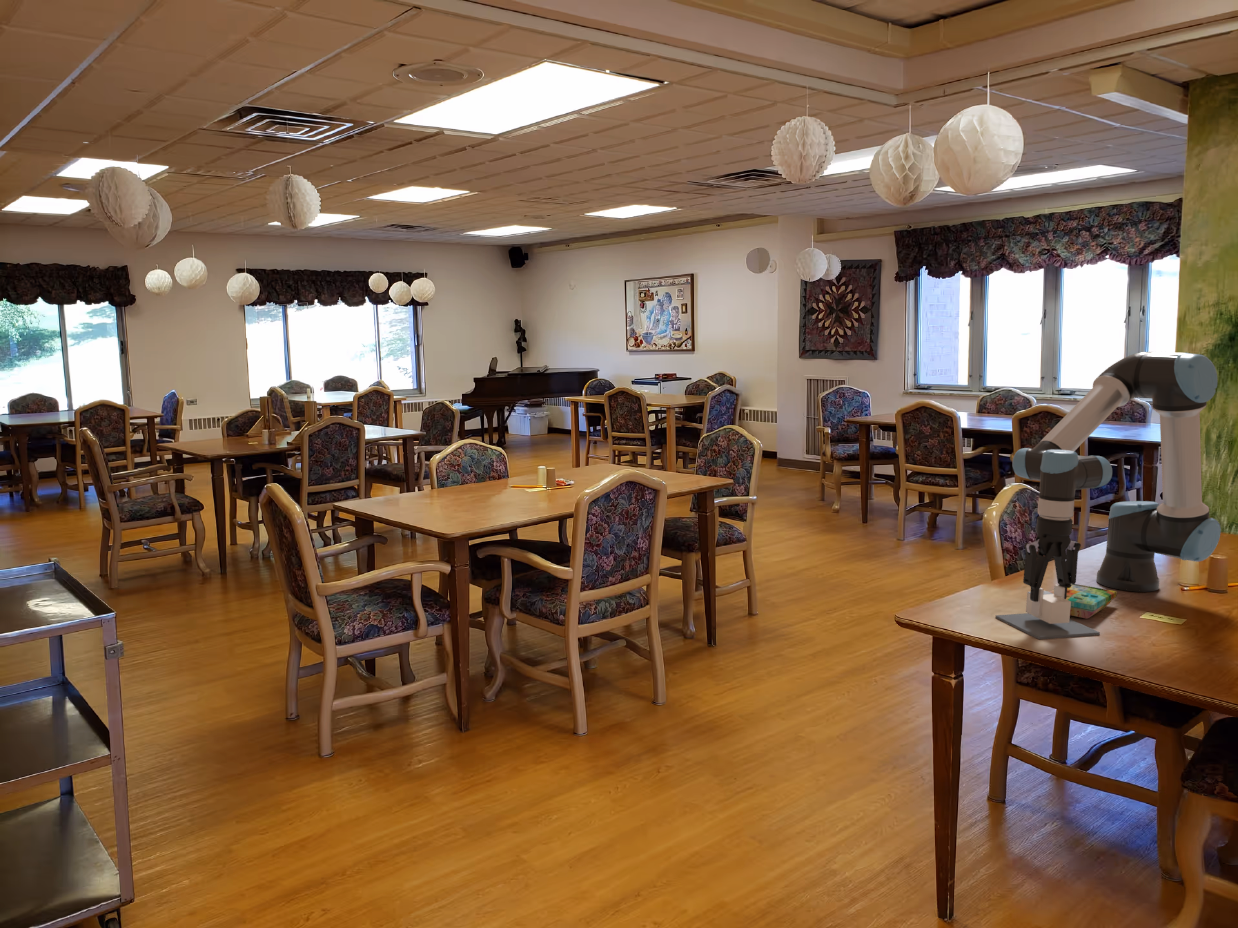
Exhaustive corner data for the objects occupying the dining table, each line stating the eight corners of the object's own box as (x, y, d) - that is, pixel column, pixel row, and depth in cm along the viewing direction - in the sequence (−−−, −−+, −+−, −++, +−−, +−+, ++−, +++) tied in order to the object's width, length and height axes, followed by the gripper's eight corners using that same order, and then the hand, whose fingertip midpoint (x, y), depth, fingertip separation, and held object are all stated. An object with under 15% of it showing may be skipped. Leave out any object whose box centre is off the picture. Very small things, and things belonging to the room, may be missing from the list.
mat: (1052, 613, 230) (1053, 611, 230) (1099, 634, 215) (1099, 632, 215) (995, 617, 227) (995, 615, 227) (1038, 639, 211) (1038, 636, 211)
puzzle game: (1042, 591, 230) (1068, 579, 245) (1041, 610, 230) (1066, 596, 245) (1094, 601, 222) (1117, 588, 237) (1092, 620, 223) (1115, 606, 238)
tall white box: (1069, 622, 216) (1071, 601, 216) (1049, 623, 215) (1051, 602, 215) (1044, 610, 225) (1045, 590, 224) (1025, 611, 224) (1027, 591, 223)
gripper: (1077, 512, 222) (1069, 606, 226) (1010, 514, 218) (1003, 611, 222) (1100, 518, 215) (1091, 616, 219) (1031, 521, 211) (1023, 620, 215)
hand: (1047, 613), depth 220 cm, fingers closed on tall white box, 5 cm apart
